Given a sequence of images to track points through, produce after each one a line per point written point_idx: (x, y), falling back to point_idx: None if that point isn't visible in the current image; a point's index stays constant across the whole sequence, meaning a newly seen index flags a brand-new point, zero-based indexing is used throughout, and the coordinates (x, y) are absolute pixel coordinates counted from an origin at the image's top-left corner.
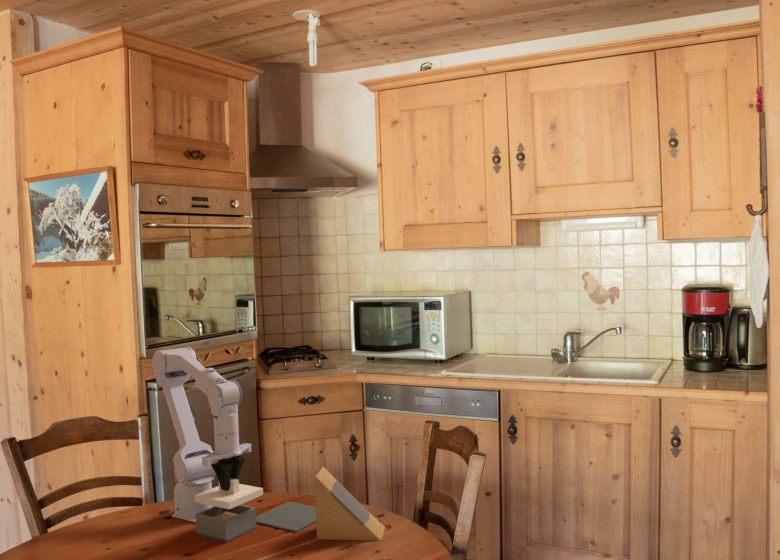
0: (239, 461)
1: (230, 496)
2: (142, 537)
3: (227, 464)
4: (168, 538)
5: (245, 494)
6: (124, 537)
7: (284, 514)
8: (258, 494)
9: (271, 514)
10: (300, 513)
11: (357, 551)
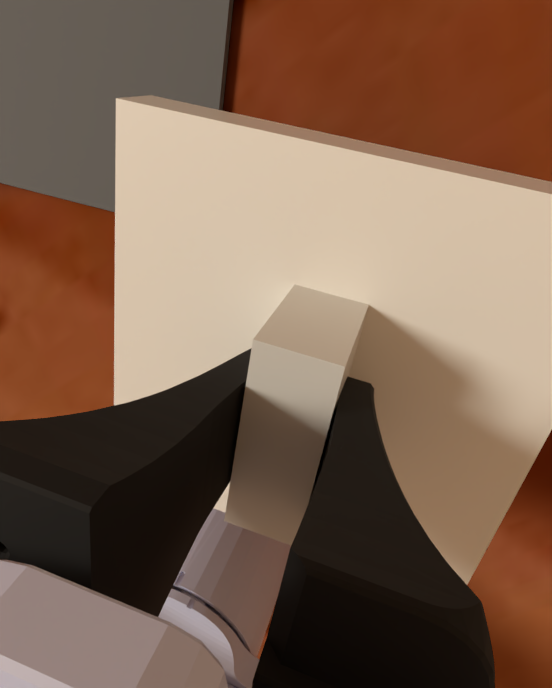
0: (108, 479)
1: (440, 306)
2: (533, 616)
3: (440, 630)
4: (527, 518)
5: (349, 176)
6: (545, 673)
7: (62, 67)
8: (203, 109)
9: (97, 150)
10: None
11: None
